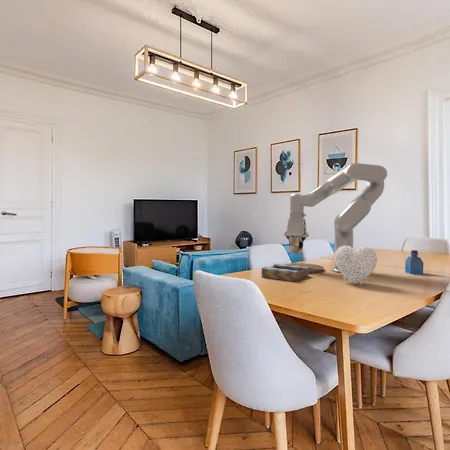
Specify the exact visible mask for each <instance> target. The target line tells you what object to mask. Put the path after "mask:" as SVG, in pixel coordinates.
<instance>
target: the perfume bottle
mask: <svg viewBox="0 0 450 450" xmlns="http://www.w3.org/2000/svg"><path fill="white" fill-rule="evenodd" d="M418 252H419V251H418V250H415V249H414V250H413V249H411V250H410V255H409V256H407V258H406V259H405V260H404V261H405V265H404V271H405V272H404V273H406V272H407V273H406V274H408V273H409V274H408V275H410V274H423V275H424V262H423V260H422V258H421V257H419V253H418Z"/></svg>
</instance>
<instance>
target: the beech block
mask: <svg viewBox="0 0 450 450" xmlns="http://www.w3.org/2000/svg"><path fill="white" fill-rule="evenodd" d="M299 242H300V239H299V236H292V237H290V246H289V253H290V254H302V253H303V248H302V249H299Z"/></svg>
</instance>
